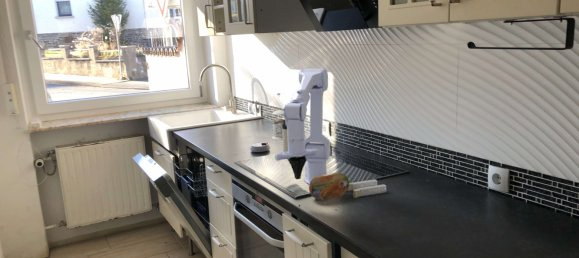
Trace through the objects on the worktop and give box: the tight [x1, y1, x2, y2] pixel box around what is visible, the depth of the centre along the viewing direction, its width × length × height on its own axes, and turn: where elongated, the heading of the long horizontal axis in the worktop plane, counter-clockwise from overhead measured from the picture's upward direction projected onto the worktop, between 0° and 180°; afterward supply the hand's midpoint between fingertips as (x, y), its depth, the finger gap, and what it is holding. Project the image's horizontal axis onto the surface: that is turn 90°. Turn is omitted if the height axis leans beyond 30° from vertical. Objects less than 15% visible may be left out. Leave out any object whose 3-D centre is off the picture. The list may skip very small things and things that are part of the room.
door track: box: [346, 179, 387, 199], centre depth 175 cm, size 10×13×2 cm
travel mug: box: [282, 117, 288, 152], centre depth 229 cm, size 8×8×18 cm
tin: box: [308, 172, 350, 201], centre depth 170 cm, size 15×3×8 cm, turn 115°
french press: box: [271, 92, 284, 140], centre depth 268 cm, size 10×12×25 cm
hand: (297, 178), depth 162 cm, fingers closed
